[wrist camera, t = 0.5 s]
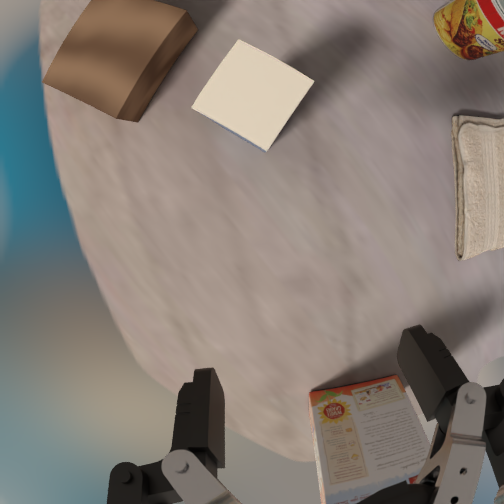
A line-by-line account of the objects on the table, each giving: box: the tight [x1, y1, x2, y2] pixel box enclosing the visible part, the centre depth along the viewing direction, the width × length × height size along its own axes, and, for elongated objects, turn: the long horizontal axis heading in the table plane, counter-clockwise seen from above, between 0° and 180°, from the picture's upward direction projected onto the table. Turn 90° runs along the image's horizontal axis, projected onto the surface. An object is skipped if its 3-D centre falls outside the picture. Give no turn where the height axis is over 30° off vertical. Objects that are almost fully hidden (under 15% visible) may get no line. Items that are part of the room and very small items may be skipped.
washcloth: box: [451, 115, 504, 261], centre depth 26 cm, size 12×18×3 cm, turn 12°
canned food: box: [433, 0, 504, 60], centre depth 14 cm, size 8×8×12 cm
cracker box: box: [309, 375, 431, 504], centre depth 28 cm, size 14×6×21 cm, turn 98°
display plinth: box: [42, 0, 198, 122], centre depth 21 cm, size 12×12×5 cm
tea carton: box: [191, 40, 314, 152], centre depth 19 cm, size 5×5×14 cm
